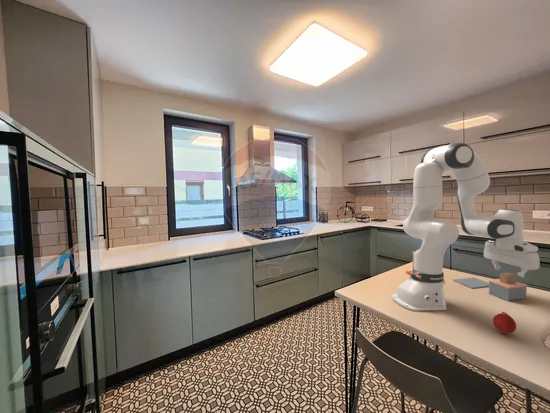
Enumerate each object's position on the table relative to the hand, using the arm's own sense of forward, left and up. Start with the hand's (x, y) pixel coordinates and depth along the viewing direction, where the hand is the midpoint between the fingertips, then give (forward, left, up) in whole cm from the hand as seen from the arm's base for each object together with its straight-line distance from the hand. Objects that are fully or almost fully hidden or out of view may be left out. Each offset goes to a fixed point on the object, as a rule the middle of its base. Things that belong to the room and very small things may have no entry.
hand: (508, 272), depth 108 cm
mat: (-1, +16, -11) cm, 20 cm away
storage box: (-1, 0, -11) cm, 11 cm away
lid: (-1, 0, -7) cm, 7 cm away
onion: (-33, -22, -12) cm, 41 cm away
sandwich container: (-18, +26, -12) cm, 34 cm away
